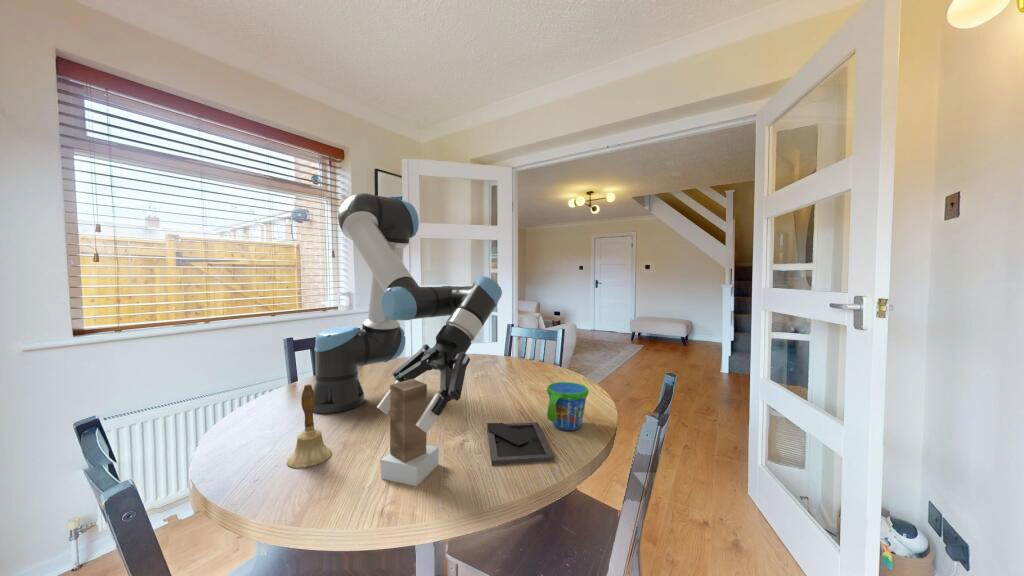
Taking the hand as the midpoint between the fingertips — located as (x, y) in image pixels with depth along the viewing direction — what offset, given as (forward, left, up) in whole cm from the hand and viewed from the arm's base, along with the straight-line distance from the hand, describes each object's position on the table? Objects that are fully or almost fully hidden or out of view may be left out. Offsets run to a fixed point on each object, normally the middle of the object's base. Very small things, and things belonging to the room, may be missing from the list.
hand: (400, 419), depth 67 cm
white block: (0, +2, -12) cm, 12 cm away
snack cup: (+13, +41, -11) cm, 45 cm away
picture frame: (+9, +25, -12) cm, 29 cm away
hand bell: (-21, -9, -11) cm, 25 cm away
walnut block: (0, +2, -7) cm, 8 cm away
